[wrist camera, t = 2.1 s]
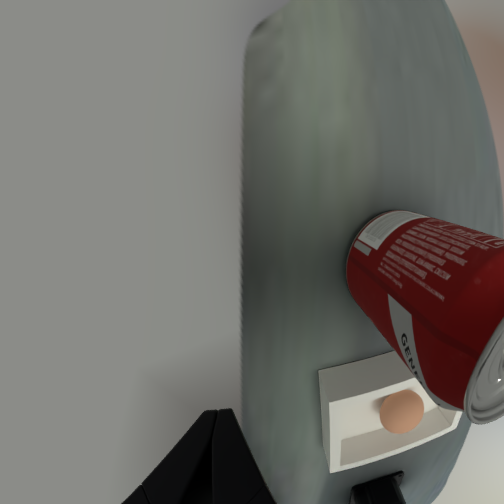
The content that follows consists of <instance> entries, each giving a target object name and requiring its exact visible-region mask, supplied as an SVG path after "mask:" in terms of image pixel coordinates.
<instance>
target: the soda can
mask: <svg viewBox="0 0 504 504" xmlns="http://www.w3.org/2000/svg"><path fill="white" fill-rule="evenodd" d="M346 280H347V285H348V288H349V291H350V293H351V295H352V297H353V299H354V300H355V301H356V303H357V304H358V305H359V306H360V307H361V309H362V310H363V311H364V312H365V314H366V315H367V316H368V317H369V319H370V320H371V321H372V322H373V324H374V325H375V326H376V327H377V329H378V330H379V331H380V332H381V334H382V335H383V336H384V337H385V339H386V340H387V341H388V342H389V344H390V345H391V346H392V348H393V349H394V350H395V351H396V353H397V354H398V355H399V357H400V358H401V359H402V361H403V362H404V363H405V364H406V366H407V367H408V368H409V370H410V371H411V372H412V374H413V375H414V376H415V378H416V379H417V380H418V382H419V383H420V384H421V386H422V387H423V388H424V390H425V391H426V393H427V394H428V395H429V397H430V398H431V399H432V400H433V402H434V403H435V404H437V405H438V406H440V407H442V408H444V409H448V410H453V411H461V412H465V414H466V416H467V417H468V418H469V420H470V421H472V422H473V423H475V424H486V423H489V422H492V421H494V420H497V419H498V418H500V417H502V416H503V415H504V239H501V238H498V237H495V236H492V235H489V234H486V233H483V232H479V231H476V230H473V229H470V228H467V227H463V226H460V225H457V224H453V223H450V222H446V221H443V220H439V219H435V218H432V217H428V216H424V215H421V214H417V213H413V212H409V211H404V210H393V211H388V212H385V213H382V214H380V215H378V216H376V217H375V218H373V219H372V220H370V221H369V222H368V223H367V224H366V225H365V226H364V227H363V228H362V229H361V230H360V231H359V233H358V234H357V236H356V237H355V239H354V241H353V243H352V245H351V247H350V250H349V253H348V256H347V261H346Z"/></svg>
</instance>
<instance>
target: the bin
mask: <svg viewBox="0 0 504 504" xmlns="http://www.w3.org/2000/svg"><path fill="white" fill-rule="evenodd" d="M318 374H319V388H320V402H321V419H322V439H323V447H324V451H325V455H326V459H327V463H328V467H329V471H330V473H334V472H338V471H342V470H346V469H350V468H354V467H357V466H361V465H364V464H368V463H371V462H374V461H377V460H380V459H383V458H386V457H389V456H392V455H395V454H398V453H400V452H403V451H406V450H408V449H411V448H413V447H416V446H418V445H421V444H423V443H425V442H428V441H430V440H432V439H435V438H437V437H439V436H441V435H443V434H445V433H447V432H450V431H452V430H454V429H456V427H457V424H458V422H459V419H460V417H461V414H462V412H461V411H453V410H448V409H444V408H442V407H440V406H438V405H437V404H435V403H434V402H433V400H432V399H431V398H430V397H429V395H428V394H427V393H426V391H425V390H424V388H423V387H422V386H421V384H420V383H419V382H418V380H417V379H416V378H415V376H414V375H413V374H412V372H411V371H410V370H409V368H408V367H407V366H406V364H405V363H404V362H403V361H402V359H401V358H400V357H399V355H398V354H397V353H396V351H392V352H389V353H385V354H382V355H378V356H375V357H371V358H367V359H364V360H360V361H356V362H352V363H348V364H344V365H340V366H335V367H331V368H327V369H322V370H318ZM402 390H411V391H414V392H416V393H417V394H418V395H419V396H420V397H421V399H422V400H423V403H424V414H423V417H422V419H421V421H420V423H419V424H418V425H417V426H416V427H415V428H414V429H412V430H411V431H409V432H406V433H402V434H395V433H391V432H389V431H388V430H386V429H385V428H384V427H383V425H382V424H381V421H380V408H381V406H382V403H383V402H384V400H385V399H386V398H387V397H388V396H389V395H390V394H393V393H396V392H399V391H402Z"/></svg>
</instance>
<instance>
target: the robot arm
mask: <svg viewBox="0 0 504 504" xmlns="http://www.w3.org/2000/svg"><path fill="white" fill-rule="evenodd" d="M403 476H404V472H403V471H400V472H397V473H395V474H392V475H389V476H386V477H383V478H380V479H377V480H374V481H371V482H367V483H364V484H361V485H357V486H354V487H353V488H352V490H351V496H350V502H349V504H406V502H405V500H404V497H403V495H402V492H401V490H400V488H399V485H400V483H401V481H402V478H403ZM121 504H277V502H276V501H275V499H274V497H273V496H272V494H271V492H270V490H269V488H268V486H267V484H266V482H265V480H264V478H263V476H262V474H261V472H260V470H259V467H258V465H257V463H256V461H255V459H254V457H253V455H252V453H251V450H250V448H249V446H248V444H247V442H246V439H245V437H244V435H243V433H242V430H241V428H240V426H239V424H238V421H237V419H236V417H235V414H234V412H233V410H232V409H231V408H229V409H220V410H219V411H218V410H206V411H204V412H203V413H202V414H201V415H200V417H199V418H198V419H197V420H196V422H195V423H194V424H193V425H192V426H191V427H190V429H189V430H188V431H187V432H186V434H184V436H183V437H182V438H181V439H180V440H179V442H178V443H177V444H176V445H175V446H174V447H173V449H172V450H171V451H170V452H169V453H168V454H167V455H166V457H165V458H164V459H163V460H162V461H161V462H160V463H159V465H158V466H157V467H156V468H155V469H154V470H153V471H152V472H151V473H150V475H149V476H148V477H147V478H146V479H145V480H144V481H143V482H142V485H139V486H138V487H137V488H136V489H135V491H134V492H133V493H132V494H131V495H130V496H129V497H128V498H127V499H126V500H125V501H124V502H123V503H121Z"/></svg>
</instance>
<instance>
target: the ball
mask: <svg viewBox="0 0 504 504" xmlns="http://www.w3.org/2000/svg"><path fill="white" fill-rule="evenodd" d="M423 414H424V403H423V400H422V399H421V397H420V396H419V395H418V394H417V393H416V392H414V391H411V390H402V391H399V392H396V393H393V394H390V395H389V396H388V397H387V398H386V399H385V400H384V402H383V403H382V406H381V408H380V421H381V424H382V425H383V427H384V428H385V429H386V430H388V431H389V432H391V433H395V434H402V433H406V432H409V431H411V430H412V429H414V428H415V427H416V426H417V425H418V424H419V423H420V421H421V419H422V417H423Z"/></svg>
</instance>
